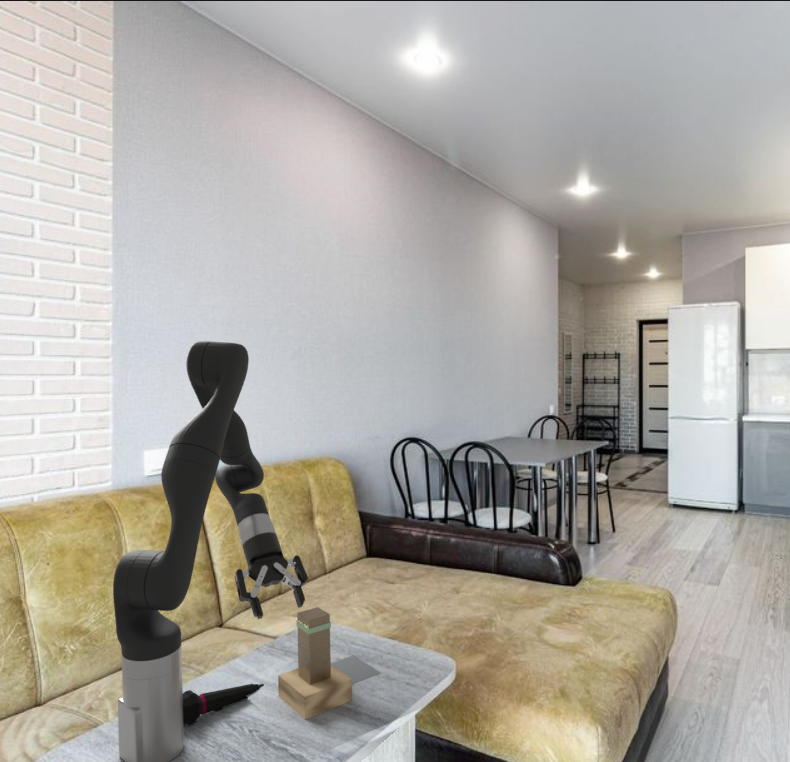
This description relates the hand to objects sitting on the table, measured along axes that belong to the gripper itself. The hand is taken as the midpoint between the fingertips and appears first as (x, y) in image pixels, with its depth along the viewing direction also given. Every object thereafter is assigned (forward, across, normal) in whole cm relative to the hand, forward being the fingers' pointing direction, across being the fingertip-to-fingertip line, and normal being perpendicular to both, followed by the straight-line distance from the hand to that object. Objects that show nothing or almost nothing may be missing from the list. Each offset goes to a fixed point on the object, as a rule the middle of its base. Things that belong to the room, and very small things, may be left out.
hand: (281, 611), depth 126 cm
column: (+14, +2, -2) cm, 15 cm away
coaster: (+14, +11, +6) cm, 19 cm away
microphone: (+13, -14, +6) cm, 20 cm away
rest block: (+18, +1, +1) cm, 18 cm away
